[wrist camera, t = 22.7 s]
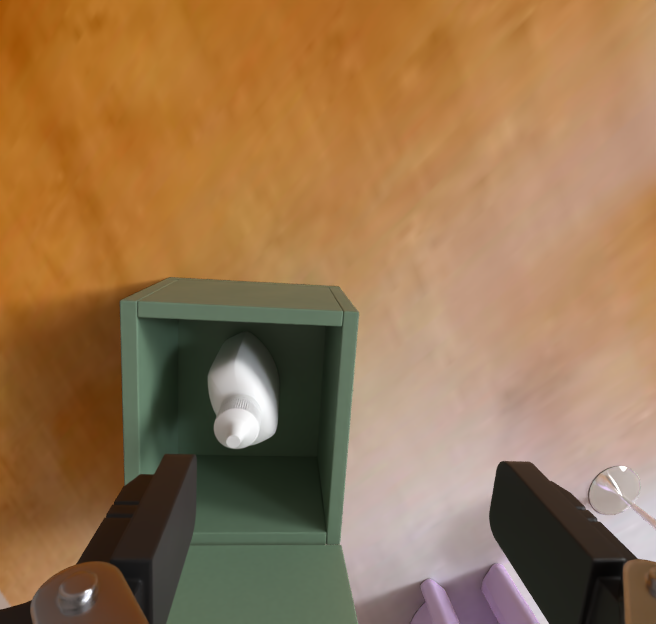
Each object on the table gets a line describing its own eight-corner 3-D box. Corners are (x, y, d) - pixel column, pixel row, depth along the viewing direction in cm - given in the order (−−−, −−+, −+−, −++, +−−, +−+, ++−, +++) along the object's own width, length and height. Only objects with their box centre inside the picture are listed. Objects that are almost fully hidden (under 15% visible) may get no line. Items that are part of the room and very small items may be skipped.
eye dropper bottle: (222, 399, 34) (188, 491, 22) (224, 328, 33) (189, 387, 21) (279, 400, 35) (274, 492, 23) (282, 331, 33) (279, 390, 22)
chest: (169, 277, 33) (119, 300, 23) (339, 286, 34) (359, 312, 24) (169, 458, 36) (125, 546, 26) (326, 460, 37) (340, 545, 27)
